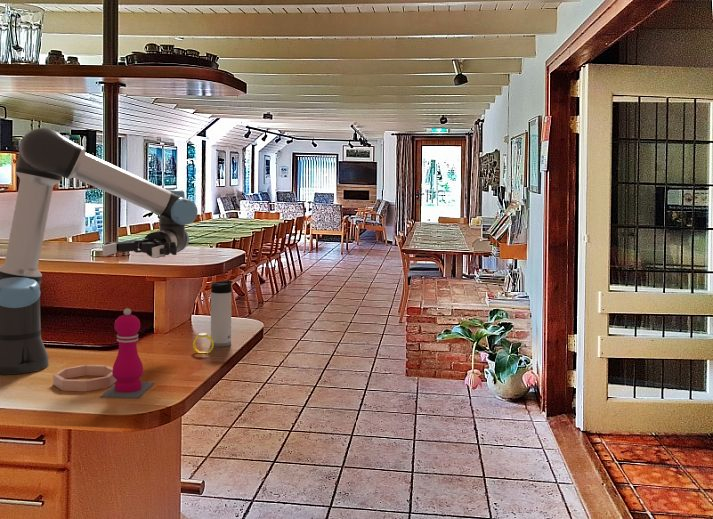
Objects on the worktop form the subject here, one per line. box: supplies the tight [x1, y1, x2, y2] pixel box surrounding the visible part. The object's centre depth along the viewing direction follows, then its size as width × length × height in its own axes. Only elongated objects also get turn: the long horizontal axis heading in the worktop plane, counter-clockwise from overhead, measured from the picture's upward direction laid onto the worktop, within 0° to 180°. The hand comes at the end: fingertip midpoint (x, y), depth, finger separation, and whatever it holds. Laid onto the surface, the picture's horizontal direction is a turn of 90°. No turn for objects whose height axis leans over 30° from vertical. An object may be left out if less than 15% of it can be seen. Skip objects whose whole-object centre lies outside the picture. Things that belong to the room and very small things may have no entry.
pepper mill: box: [112, 308, 144, 392], centre depth 171 cm, size 7×7×20 cm
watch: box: [192, 332, 215, 355], centre depth 208 cm, size 6×3×6 cm, turn 88°
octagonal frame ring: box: [52, 364, 117, 392], centre depth 177 cm, size 14×14×2 cm
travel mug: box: [210, 280, 233, 348], centre depth 218 cm, size 6×7×20 cm
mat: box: [100, 381, 155, 400], centre depth 172 cm, size 9×12×1 cm
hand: (128, 251), depth 186 cm, fingers open, 13 cm apart
